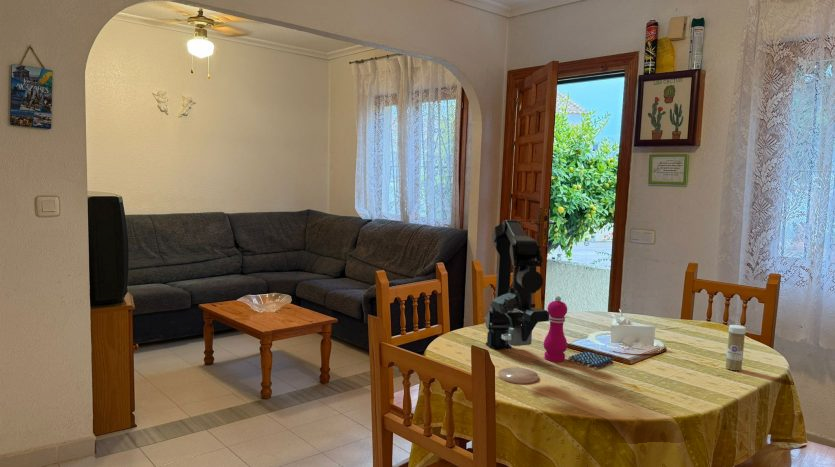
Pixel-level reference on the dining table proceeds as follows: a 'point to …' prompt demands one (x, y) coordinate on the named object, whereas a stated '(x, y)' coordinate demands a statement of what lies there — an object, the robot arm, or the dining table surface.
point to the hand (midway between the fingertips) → (520, 339)
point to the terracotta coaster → (518, 375)
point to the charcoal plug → (516, 336)
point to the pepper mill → (556, 332)
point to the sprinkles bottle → (735, 347)
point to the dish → (628, 334)
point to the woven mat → (590, 360)
